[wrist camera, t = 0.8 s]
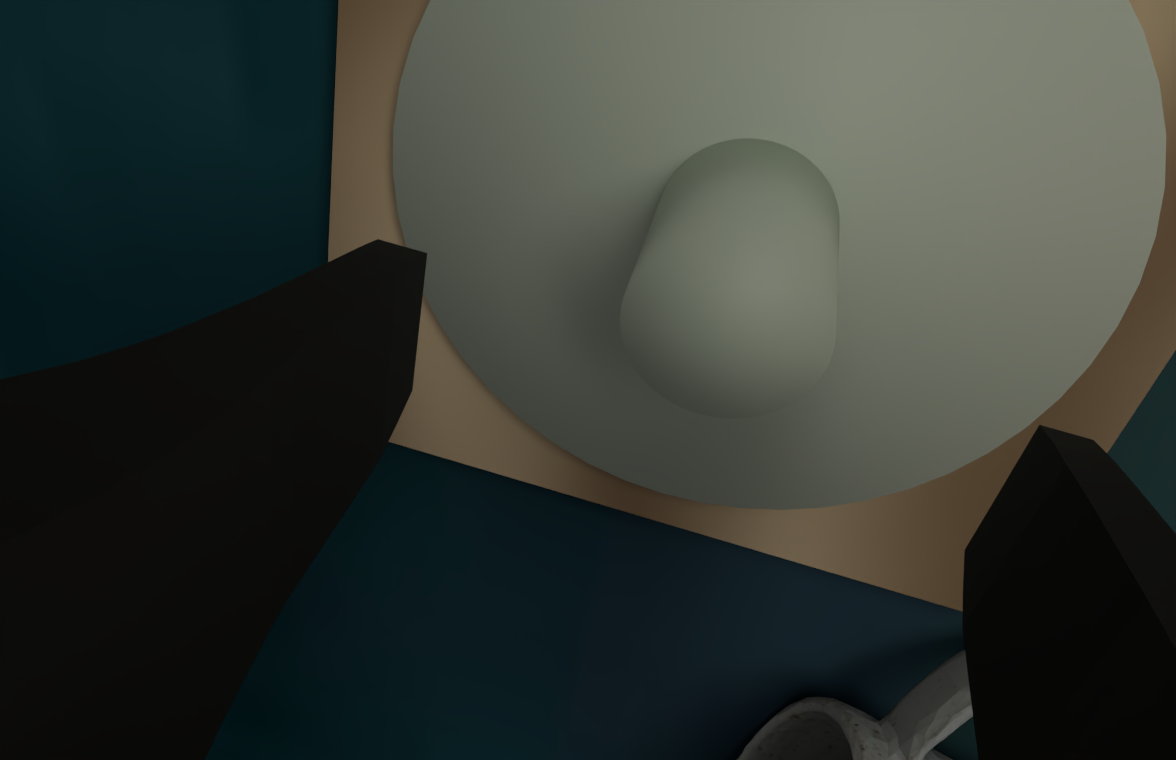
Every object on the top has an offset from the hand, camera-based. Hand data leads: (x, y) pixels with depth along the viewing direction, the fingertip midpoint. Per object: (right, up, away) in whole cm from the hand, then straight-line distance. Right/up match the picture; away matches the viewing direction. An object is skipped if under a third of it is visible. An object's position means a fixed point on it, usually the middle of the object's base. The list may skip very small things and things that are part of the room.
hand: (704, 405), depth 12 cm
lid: (+1, +3, +4) cm, 5 cm away
